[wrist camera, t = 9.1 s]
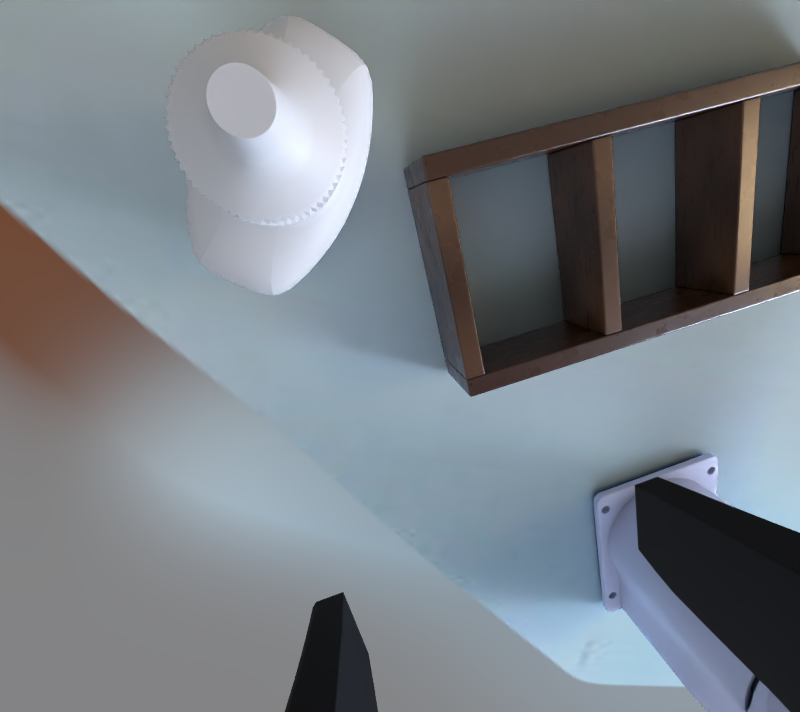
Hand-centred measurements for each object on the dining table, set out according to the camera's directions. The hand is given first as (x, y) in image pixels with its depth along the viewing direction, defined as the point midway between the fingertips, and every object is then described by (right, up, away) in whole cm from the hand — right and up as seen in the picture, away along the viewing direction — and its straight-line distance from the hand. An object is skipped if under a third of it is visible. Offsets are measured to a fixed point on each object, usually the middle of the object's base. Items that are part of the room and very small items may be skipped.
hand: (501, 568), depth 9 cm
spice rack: (+8, +11, +9) cm, 17 cm away
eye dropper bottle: (-6, +11, +6) cm, 14 cm away
